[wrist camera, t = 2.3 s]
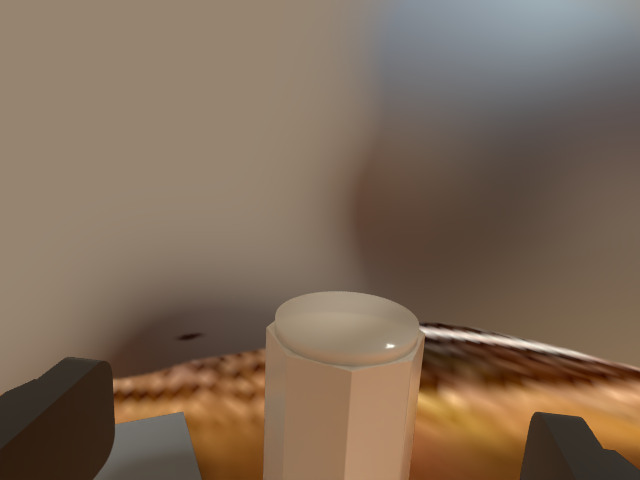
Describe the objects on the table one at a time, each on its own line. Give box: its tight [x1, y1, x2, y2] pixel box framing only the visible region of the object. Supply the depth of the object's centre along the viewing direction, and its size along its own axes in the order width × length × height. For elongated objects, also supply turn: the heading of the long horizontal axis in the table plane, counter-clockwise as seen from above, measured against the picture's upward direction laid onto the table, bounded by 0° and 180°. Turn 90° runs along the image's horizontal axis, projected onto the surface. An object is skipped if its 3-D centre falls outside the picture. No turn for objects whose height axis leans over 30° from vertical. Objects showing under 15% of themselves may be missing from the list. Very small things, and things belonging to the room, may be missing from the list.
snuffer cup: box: [263, 291, 425, 480], centre depth 23 cm, size 6×6×10 cm
